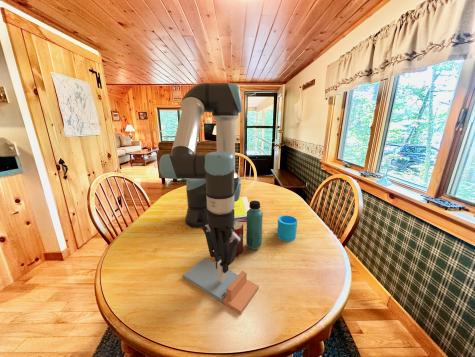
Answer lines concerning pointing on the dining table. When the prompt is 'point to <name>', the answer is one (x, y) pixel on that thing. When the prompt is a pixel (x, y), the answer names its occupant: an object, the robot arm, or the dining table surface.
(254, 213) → the beverage bottle
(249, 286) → the stub
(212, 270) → the ticket
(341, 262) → the dining table surface
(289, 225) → the mug
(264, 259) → the dining table surface
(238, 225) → the soda can
